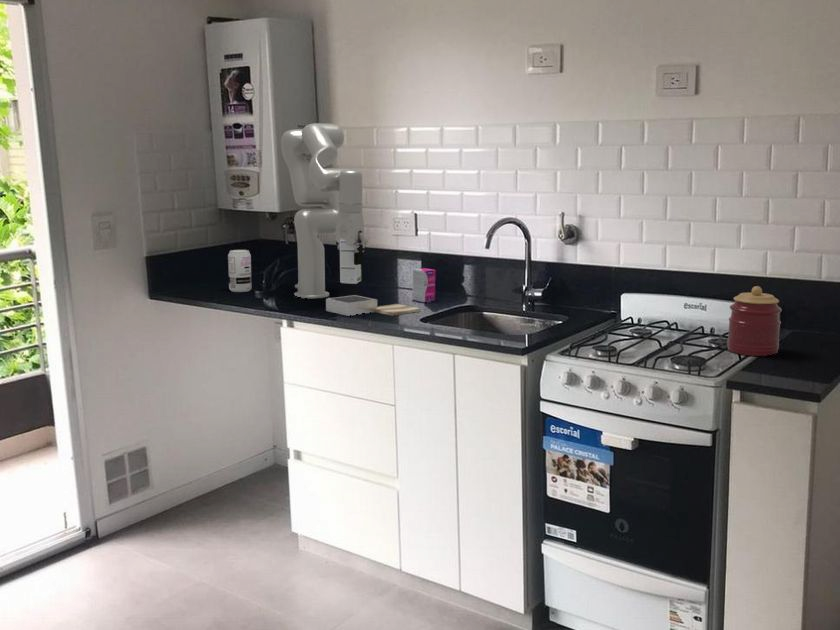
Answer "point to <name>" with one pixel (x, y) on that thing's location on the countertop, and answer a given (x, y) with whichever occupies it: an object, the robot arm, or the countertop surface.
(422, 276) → the supplement box
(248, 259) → the supplement can
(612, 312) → the countertop surface
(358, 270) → the syrup box
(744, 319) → the canister
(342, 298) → the flat grey box
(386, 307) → the birch board
